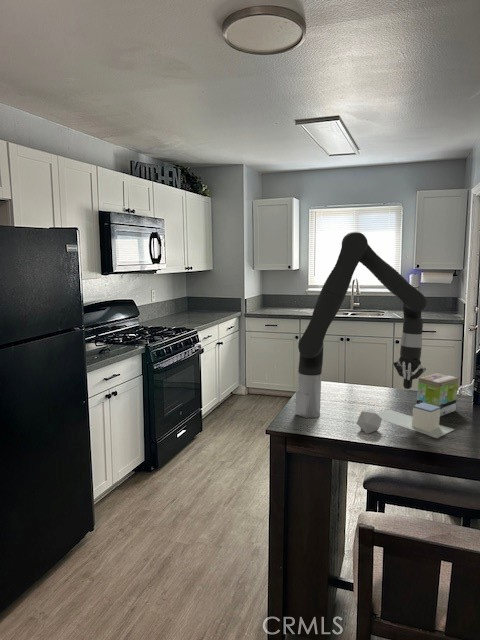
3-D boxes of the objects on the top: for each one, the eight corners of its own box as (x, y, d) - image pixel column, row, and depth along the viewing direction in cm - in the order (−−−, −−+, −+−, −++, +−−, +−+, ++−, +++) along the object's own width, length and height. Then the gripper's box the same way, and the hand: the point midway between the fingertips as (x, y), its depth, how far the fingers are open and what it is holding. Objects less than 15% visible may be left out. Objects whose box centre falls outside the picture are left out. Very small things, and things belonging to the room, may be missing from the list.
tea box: (438, 418, 184) (441, 382, 182) (415, 412, 192) (417, 377, 190) (456, 411, 194) (459, 376, 192) (433, 404, 202) (435, 371, 200)
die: (368, 427, 176) (354, 407, 175) (388, 421, 171) (374, 401, 170) (364, 441, 170) (349, 421, 169) (384, 435, 165) (369, 414, 163)
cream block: (413, 405, 174) (411, 426, 175) (430, 410, 168) (429, 431, 170) (422, 402, 178) (421, 422, 179) (440, 407, 173) (438, 427, 174)
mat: (436, 438, 164) (436, 437, 164) (369, 416, 186) (369, 415, 186) (454, 430, 172) (454, 429, 172) (388, 410, 194) (388, 409, 194)
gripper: (390, 342, 179) (386, 385, 182) (422, 348, 169) (417, 394, 172) (401, 340, 184) (397, 383, 187) (432, 346, 174) (428, 391, 177)
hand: (407, 388), depth 179 cm, fingers closed
